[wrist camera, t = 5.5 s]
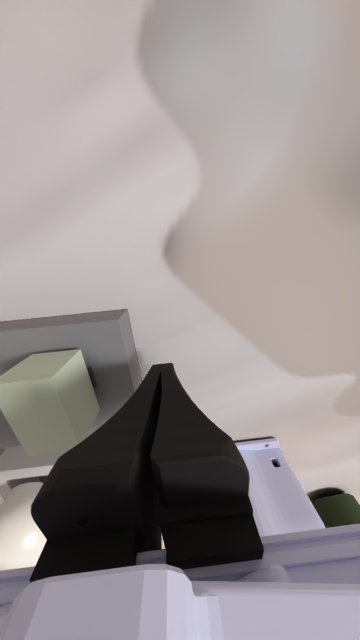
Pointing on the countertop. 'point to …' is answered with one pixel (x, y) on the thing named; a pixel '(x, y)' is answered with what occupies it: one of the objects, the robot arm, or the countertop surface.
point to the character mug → (338, 510)
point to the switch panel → (102, 365)
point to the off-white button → (20, 529)
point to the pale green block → (49, 401)
